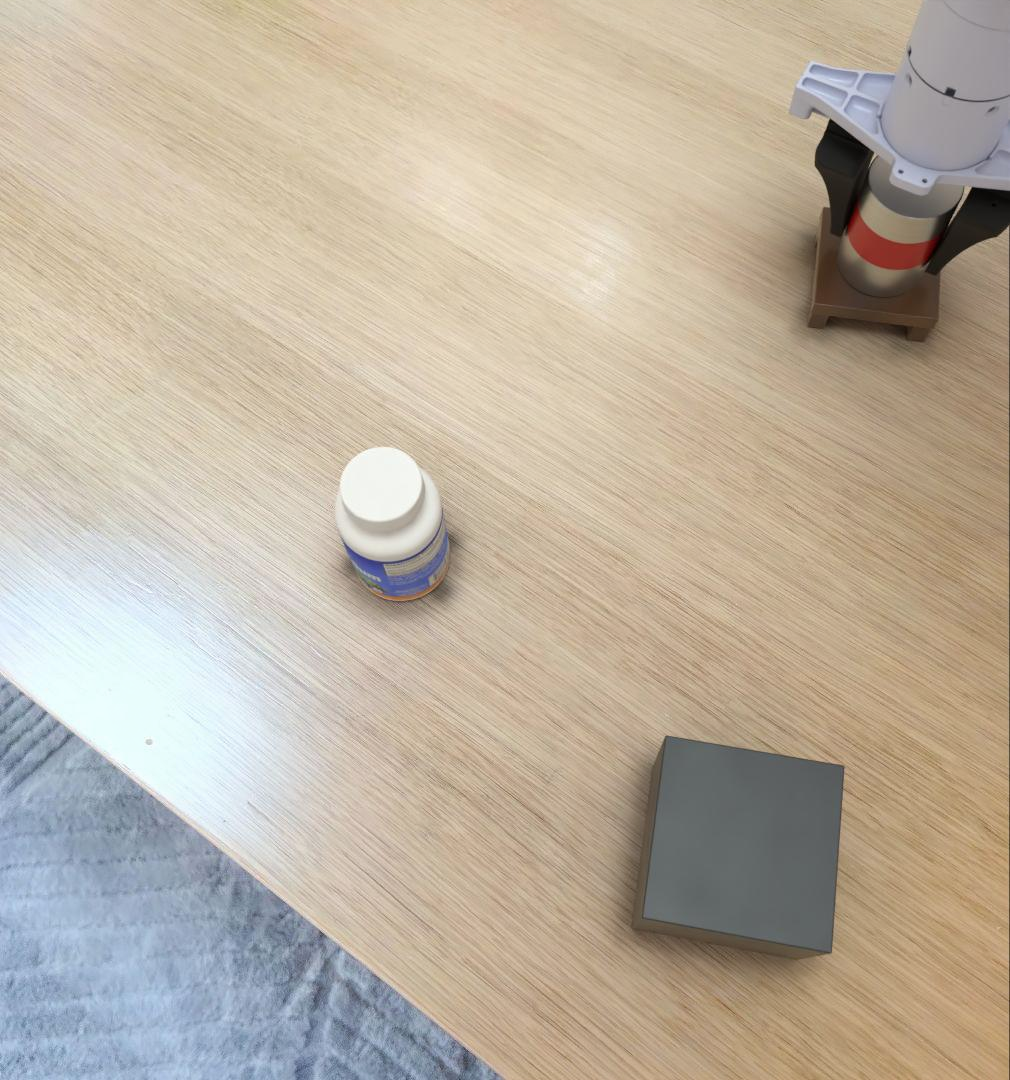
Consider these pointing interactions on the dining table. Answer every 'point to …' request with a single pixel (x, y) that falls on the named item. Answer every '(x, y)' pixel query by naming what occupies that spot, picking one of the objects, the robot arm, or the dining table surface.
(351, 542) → the pill bottle
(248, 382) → the dining table surface
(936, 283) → the stool
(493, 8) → the dining table surface
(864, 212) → the can
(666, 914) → the square coaster
